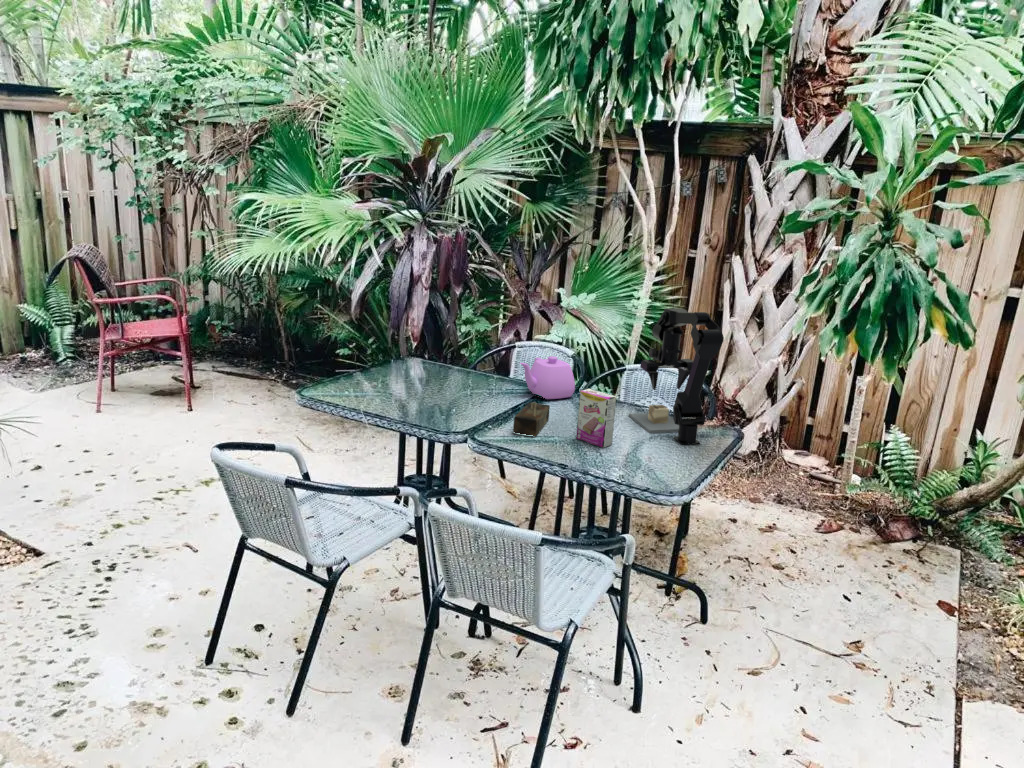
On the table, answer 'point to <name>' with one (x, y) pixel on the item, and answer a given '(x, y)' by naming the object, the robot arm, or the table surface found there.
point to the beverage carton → (531, 419)
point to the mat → (654, 428)
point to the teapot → (550, 378)
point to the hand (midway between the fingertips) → (666, 389)
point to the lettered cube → (658, 414)
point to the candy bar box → (596, 417)
